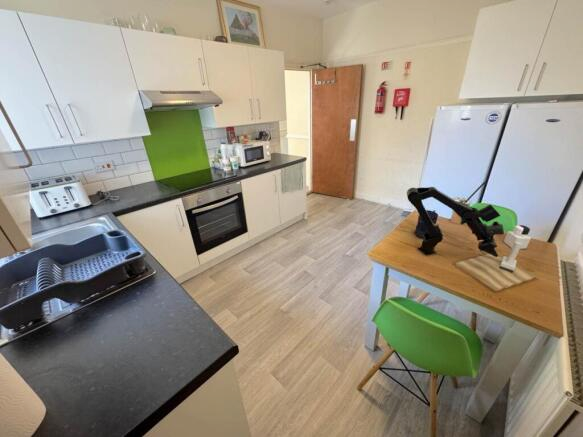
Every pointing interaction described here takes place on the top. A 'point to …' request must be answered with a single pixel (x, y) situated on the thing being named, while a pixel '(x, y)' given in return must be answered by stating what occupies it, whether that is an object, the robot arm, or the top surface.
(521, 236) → the medicine bottle
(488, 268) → the chopping board
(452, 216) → the utensil holder
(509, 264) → the dish brush
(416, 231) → the storage jar
